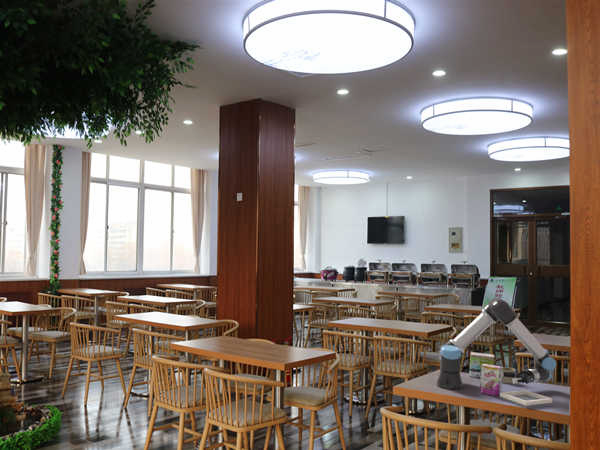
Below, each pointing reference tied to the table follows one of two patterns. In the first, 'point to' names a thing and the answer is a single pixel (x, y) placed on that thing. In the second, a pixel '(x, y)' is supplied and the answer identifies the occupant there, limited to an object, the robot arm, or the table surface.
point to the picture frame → (526, 399)
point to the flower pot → (507, 379)
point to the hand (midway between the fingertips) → (503, 378)
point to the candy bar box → (491, 380)
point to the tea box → (479, 362)
